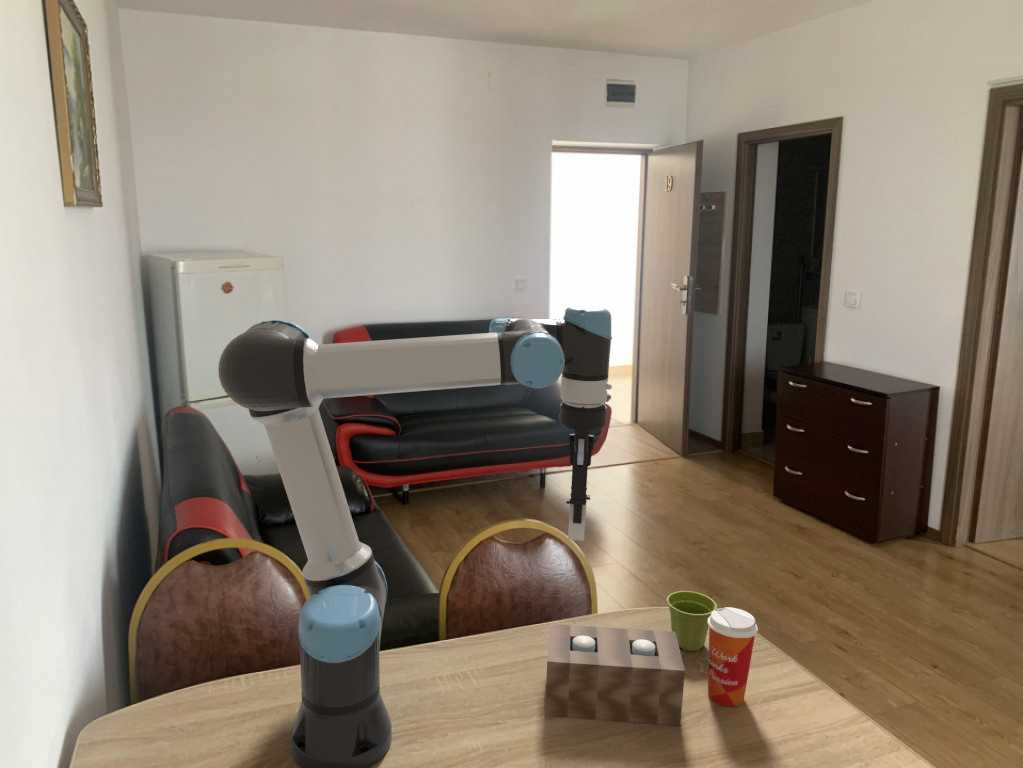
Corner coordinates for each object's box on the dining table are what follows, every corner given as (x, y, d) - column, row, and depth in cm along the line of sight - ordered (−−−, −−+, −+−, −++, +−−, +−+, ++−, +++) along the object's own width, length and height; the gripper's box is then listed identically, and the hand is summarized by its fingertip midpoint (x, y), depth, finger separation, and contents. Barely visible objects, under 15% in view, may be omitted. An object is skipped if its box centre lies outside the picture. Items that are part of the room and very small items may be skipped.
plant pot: (704, 630, 156) (707, 590, 154) (719, 656, 147) (723, 614, 145) (658, 630, 155) (661, 590, 153) (670, 656, 146) (674, 614, 144)
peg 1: (570, 700, 131) (572, 646, 129) (570, 687, 135) (572, 634, 133) (592, 702, 131) (595, 648, 129) (592, 688, 134) (595, 636, 132)
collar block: (544, 716, 127) (547, 661, 125) (547, 674, 139) (549, 623, 137) (680, 726, 126) (684, 670, 124) (671, 683, 138) (675, 631, 135)
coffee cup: (691, 689, 136) (697, 611, 133) (727, 678, 139) (734, 601, 136) (724, 717, 128) (732, 634, 125) (761, 704, 132) (770, 623, 129)
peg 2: (629, 704, 130) (633, 650, 128) (628, 691, 134) (631, 638, 132) (652, 706, 130) (656, 652, 128) (650, 693, 134) (654, 640, 132)
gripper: (607, 413, 119) (598, 556, 124) (606, 395, 132) (598, 525, 137) (558, 410, 120) (551, 552, 125) (562, 392, 133) (556, 522, 137)
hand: (576, 538), depth 131 cm, fingers closed
